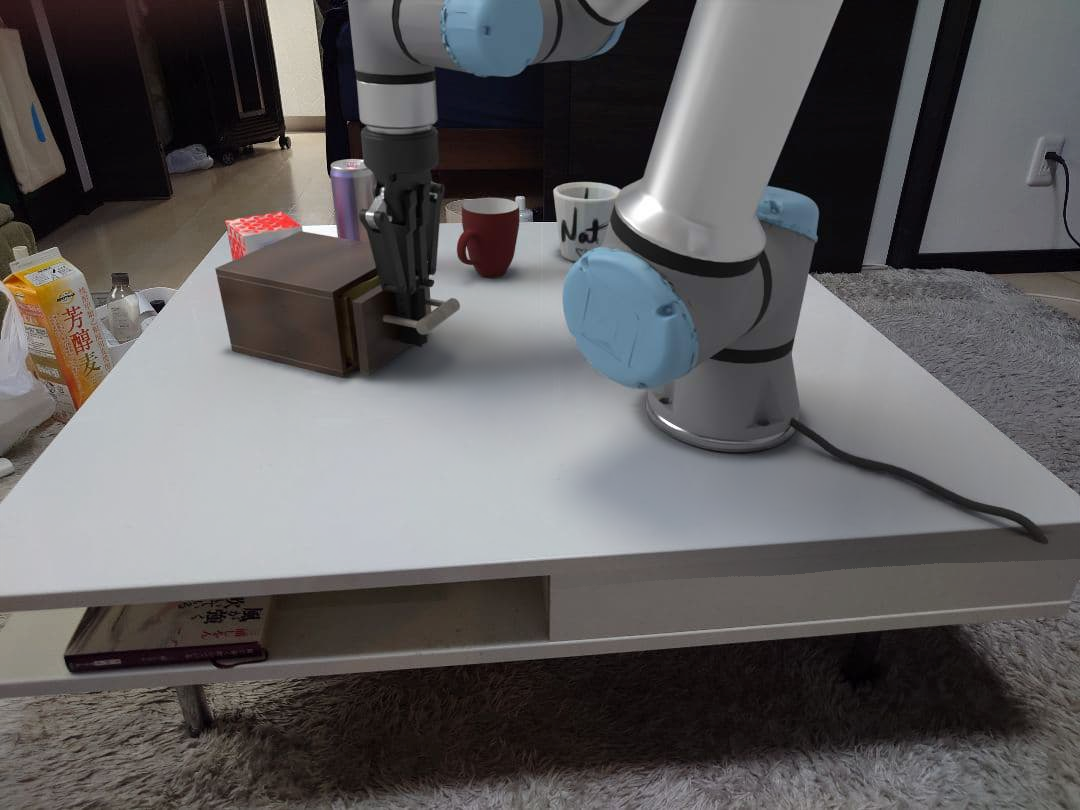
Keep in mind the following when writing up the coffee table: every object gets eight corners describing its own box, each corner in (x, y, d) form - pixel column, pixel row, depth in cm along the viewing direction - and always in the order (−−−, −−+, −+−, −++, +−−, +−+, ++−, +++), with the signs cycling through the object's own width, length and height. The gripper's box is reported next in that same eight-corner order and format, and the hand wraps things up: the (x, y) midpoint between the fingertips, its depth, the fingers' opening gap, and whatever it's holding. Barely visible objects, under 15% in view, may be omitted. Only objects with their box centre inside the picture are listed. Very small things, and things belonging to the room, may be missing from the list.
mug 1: (489, 293, 106) (488, 222, 101) (442, 281, 110) (438, 212, 104) (529, 270, 114) (530, 203, 109) (484, 260, 117) (483, 194, 112)
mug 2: (547, 264, 116) (549, 197, 111) (558, 233, 129) (560, 172, 124) (616, 268, 115) (621, 201, 110) (621, 237, 128) (625, 176, 123)
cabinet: (413, 327, 96) (408, 249, 91) (343, 378, 85) (332, 292, 79) (311, 305, 101) (300, 230, 96) (231, 350, 90) (214, 268, 85)
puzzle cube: (289, 264, 114) (281, 211, 110) (309, 280, 109) (301, 225, 105) (235, 275, 110) (224, 220, 106) (253, 292, 105) (242, 236, 101)
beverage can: (341, 276, 111) (329, 169, 103) (341, 262, 116) (329, 159, 108) (384, 273, 112) (374, 168, 104) (381, 259, 117) (372, 158, 109)
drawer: (474, 336, 92) (472, 270, 88) (415, 385, 82) (410, 313, 77) (333, 306, 99) (326, 244, 95) (262, 348, 88) (250, 280, 84)
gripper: (402, 111, 82) (415, 314, 94) (326, 133, 72) (352, 359, 84) (464, 118, 80) (470, 326, 92) (395, 142, 69) (411, 373, 81)
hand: (413, 341), depth 88 cm, fingers closed
